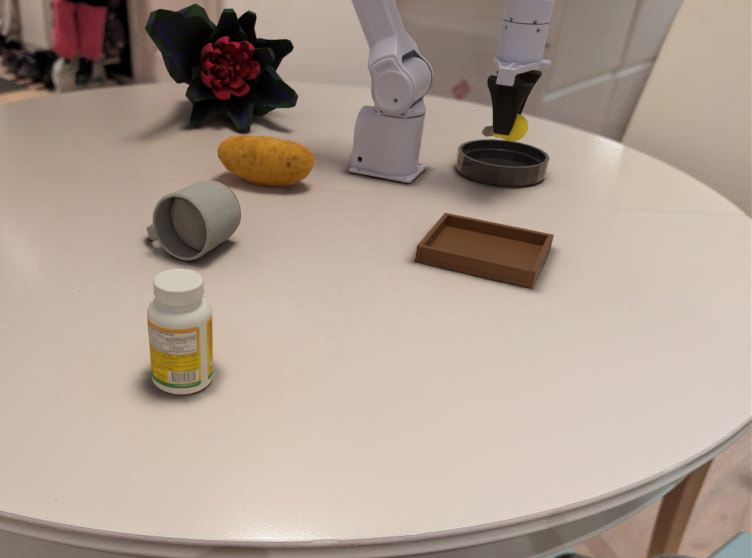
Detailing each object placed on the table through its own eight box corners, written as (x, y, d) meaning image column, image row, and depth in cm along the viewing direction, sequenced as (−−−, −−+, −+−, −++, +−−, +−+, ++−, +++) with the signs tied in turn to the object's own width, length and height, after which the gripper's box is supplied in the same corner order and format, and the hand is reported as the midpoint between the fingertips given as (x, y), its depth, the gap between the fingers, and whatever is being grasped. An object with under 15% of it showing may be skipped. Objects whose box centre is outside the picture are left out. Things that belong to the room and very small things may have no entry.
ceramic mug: (246, 241, 88) (245, 178, 84) (209, 268, 82) (206, 201, 78) (172, 224, 92) (167, 163, 88) (132, 248, 86) (125, 184, 82)
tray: (414, 261, 85) (416, 245, 84) (442, 227, 93) (444, 212, 92) (531, 288, 80) (535, 272, 79) (550, 250, 88) (554, 234, 87)
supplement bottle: (182, 404, 61) (176, 303, 56) (138, 379, 64) (129, 280, 59) (226, 376, 65) (225, 278, 59) (183, 354, 68) (178, 258, 62)
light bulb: (528, 144, 99) (525, 120, 96) (482, 150, 101) (478, 127, 99) (531, 130, 101) (527, 106, 98) (486, 136, 103) (481, 113, 101)
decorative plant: (261, 156, 143) (279, 166, 114) (133, 98, 137) (119, 94, 109) (305, 50, 137) (336, 33, 109) (174, -15, 132) (170, -50, 103)
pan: (444, 177, 108) (447, 157, 107) (467, 153, 118) (471, 134, 116) (535, 194, 103) (540, 173, 102) (551, 167, 113) (556, 148, 111)
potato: (298, 200, 99) (301, 150, 96) (209, 183, 104) (208, 134, 100) (320, 182, 105) (323, 135, 101) (235, 166, 110) (234, 120, 106)
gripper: (549, 33, 85) (524, 149, 93) (567, 15, 96) (544, 121, 104) (488, 26, 88) (468, 140, 96) (513, 10, 99) (493, 113, 106)
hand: (504, 130), depth 100 cm, fingers closed on light bulb, 3 cm apart
